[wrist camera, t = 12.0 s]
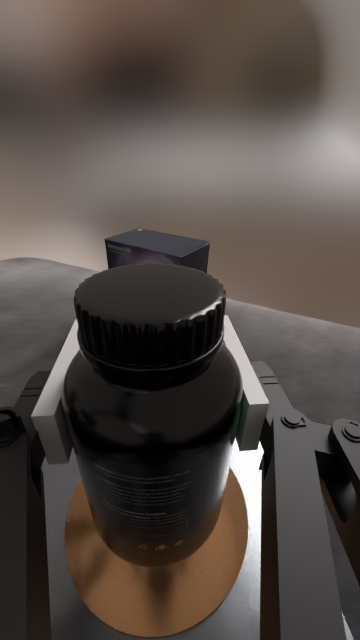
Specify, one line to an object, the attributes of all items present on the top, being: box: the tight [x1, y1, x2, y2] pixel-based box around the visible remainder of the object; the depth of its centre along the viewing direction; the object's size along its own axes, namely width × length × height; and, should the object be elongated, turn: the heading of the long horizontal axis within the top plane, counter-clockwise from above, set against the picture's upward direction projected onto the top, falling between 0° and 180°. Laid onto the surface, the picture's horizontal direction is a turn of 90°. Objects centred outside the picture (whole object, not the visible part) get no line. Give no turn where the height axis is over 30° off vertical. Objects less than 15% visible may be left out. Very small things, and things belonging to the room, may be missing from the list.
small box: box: [105, 229, 210, 274], centre depth 33 cm, size 11×6×10 cm, turn 57°
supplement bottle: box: [61, 263, 243, 568], centre depth 12 cm, size 7×7×12 cm
